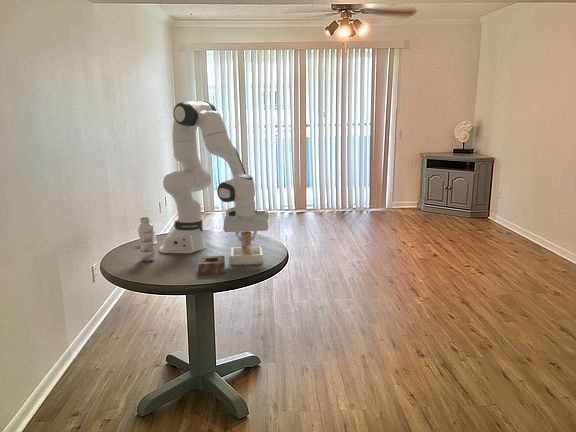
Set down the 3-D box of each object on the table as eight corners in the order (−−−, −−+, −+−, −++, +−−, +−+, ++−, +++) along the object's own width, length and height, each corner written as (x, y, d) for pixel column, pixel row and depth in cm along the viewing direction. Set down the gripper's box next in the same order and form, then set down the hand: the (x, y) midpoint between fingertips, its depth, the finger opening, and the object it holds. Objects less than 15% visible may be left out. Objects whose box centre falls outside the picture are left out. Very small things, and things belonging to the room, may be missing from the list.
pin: (242, 257, 215) (241, 233, 213) (241, 254, 220) (241, 231, 217) (251, 256, 216) (251, 233, 213) (251, 254, 220) (250, 231, 218)
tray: (231, 264, 211) (231, 256, 210) (231, 255, 224) (231, 247, 223) (262, 263, 212) (262, 255, 211) (261, 254, 226) (261, 246, 225)
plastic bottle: (141, 258, 220) (138, 216, 216) (156, 258, 221) (153, 216, 216) (138, 263, 214) (135, 219, 210) (154, 262, 215) (150, 219, 210)
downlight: (160, 243, 245) (158, 224, 243) (147, 246, 241) (145, 226, 239) (153, 241, 251) (151, 222, 249) (140, 243, 247) (138, 224, 245)
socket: (199, 275, 197) (198, 264, 196) (200, 267, 208) (200, 256, 206) (224, 274, 198) (223, 263, 197) (224, 266, 209) (224, 255, 207)
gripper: (268, 208, 217) (268, 237, 220) (223, 210, 215) (224, 239, 218) (269, 211, 211) (269, 241, 214) (222, 212, 209) (223, 243, 212)
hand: (246, 240), depth 216 cm, fingers closed on pin, 4 cm apart
